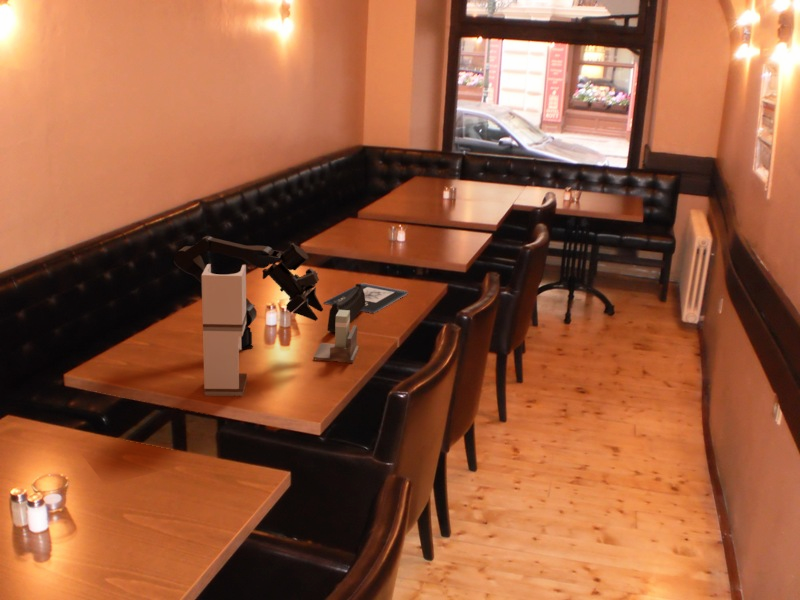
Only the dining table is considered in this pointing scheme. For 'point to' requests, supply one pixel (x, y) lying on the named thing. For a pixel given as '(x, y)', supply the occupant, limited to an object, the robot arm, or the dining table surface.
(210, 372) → the beige rectangular tower
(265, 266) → the robot arm
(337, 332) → the book
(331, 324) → the magazine
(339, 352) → the book rack
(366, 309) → the sketchbook
